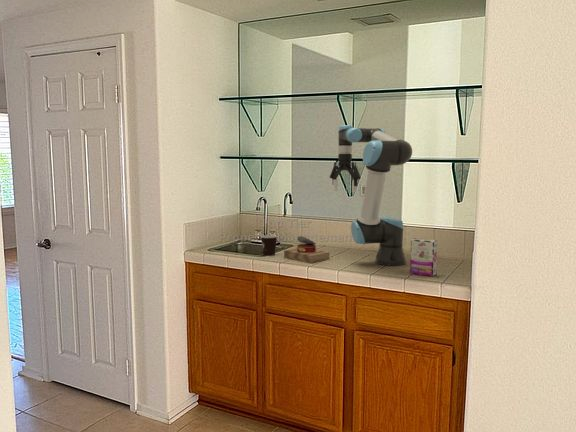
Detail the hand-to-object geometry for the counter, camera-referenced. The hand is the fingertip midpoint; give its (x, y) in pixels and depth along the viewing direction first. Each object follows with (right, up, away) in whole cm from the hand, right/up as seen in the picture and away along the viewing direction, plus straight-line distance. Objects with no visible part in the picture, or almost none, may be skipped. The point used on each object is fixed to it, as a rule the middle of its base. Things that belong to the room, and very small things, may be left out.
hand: (344, 191), depth 292 cm
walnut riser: (-22, -37, -14) cm, 45 cm away
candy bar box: (+31, -41, -49) cm, 71 cm away
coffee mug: (-42, -35, -2) cm, 55 cm away
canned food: (-22, -33, -15) cm, 42 cm away
